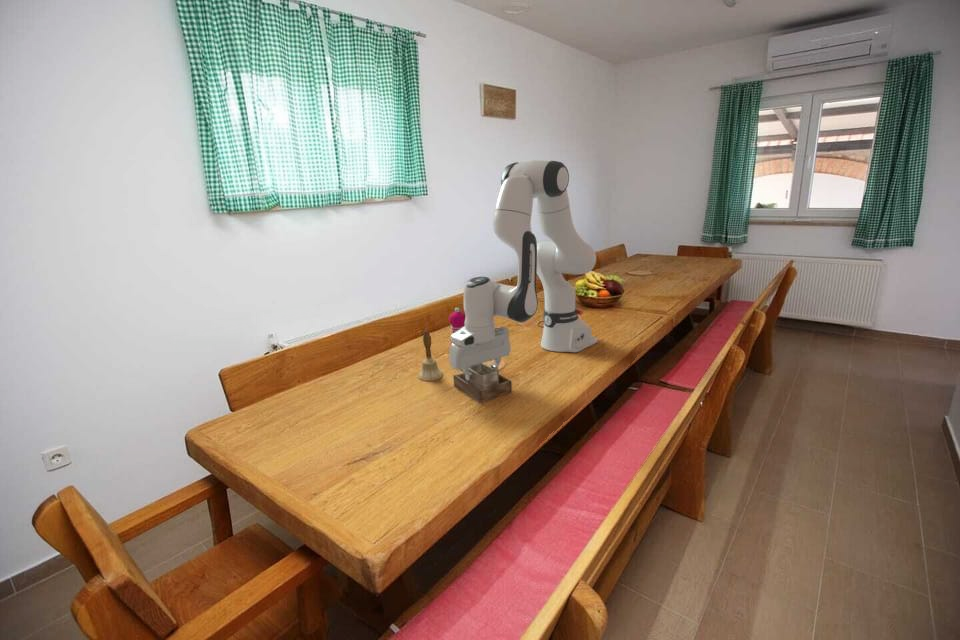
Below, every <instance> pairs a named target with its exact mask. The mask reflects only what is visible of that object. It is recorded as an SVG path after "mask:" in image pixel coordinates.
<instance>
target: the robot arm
mask: <svg viewBox="0 0 960 640" xmlns="http://www.w3.org/2000/svg"><path fill="white" fill-rule="evenodd" d="M500 178H501V179H500V185H501V186H500V189H499V192H498V195H497V200H496V202H495V209H494V215H493V221H492V228H493V231H494V234H495V235H496V237H497V238H498V239H499V240H500V242H502V243H504V244H505V245H507V247H510V248H511V249H513V250H514V252H515V253H516V256H517V282H516V283H517V284H516V286H515V285H509V284H503V283H499V282H495V281H492V280H491V279H490V278H489V277H487V276H477V277H472V278H470V279H468V280H467V281H466V282H465V285H464V289H463V311H464V312H463V313H464V314H465V315H466V319H465V324H464V325H465V326H464V327H462V328H461V329H460V330H458V331H456V332H455V333H453V332H452V334H451V335H450V336H449V337H450V338H449V340H450V341H451V342H453V343H452V344H451V343H450V345H451V346H450V345H449V348H450V351H449V353H448V354H449V355H448V356H449V360H448V361H449V365H450V367H451V368H453V370H456V371H462V373H463V372H464V373H465V378H466V380H471V379H472V374H471V373H469V372H468V371H467V370H469V367H471V366H474V365H477V364H481V363H484V364H485V363H487V362H490V361H493V363H492V365H490V367H491V368H493V369H495V370H497V371H498V372H499V366H500V363H501V361H502V358H504V357H506V356H509V355H510V353H511V341H510V337H509V335H510V331H509V329H508V327H505V326H500V327H496V325H495V324H496V323H495V317H496V316H498V317H502V318H506V319H510V320H513V321H515V322H517V323H526V322H527V321H529V320H530V319H531V318H532V317H533V316H535V314H536V313H537V310H538V303H539V301H538V300H539V299H538V293H537V292H538V291H537V276H538V278H539V280H540V282H541V285H542V287H543V288H542V289H543V293H544V309H543V330H542V336H541V342H540V347H541V348H542V349H543V350H544V349H545V350H547V351H550V352H557V353H560V352H561V353H563V352H565V353H566V352H567V353H569V352H570V353H578V352H580V351H583V350H584V349H586V348H589V347H591V346H593V345H595V344H597V343H598V342H599V341H598V338H597V337H595V336H593V335H592V329H591V326H590V325H589V324H587V323H586V322H584V321H583V320H582V319H581V318H579V315H580V316H582V315H583V314H584V309H581V308H577V309H576V290H575V287H574V285H572V284H571V283H569V282H568V281H567V280H566V279H565V278H564V276H563V274H566V275H582V274H583V275H585V274H588V273H590V272H591V271H592V270H593V269H594V267H595V265H596V264H597V263H596V262H597V254H596V252H595V249H594V248H593V246H591V245H590V244H588V243H587V242H586V241H585V240H583V238H582V237H581V236H580V235H579V233H578V232H577V230H576V228H575V226H574V224H573V219H572V213H571V206H570V200H569V199H570V198H569V194H568V190H567V188H568V186H569V181H570V173H569V170H568V167H567V166H566V165H565V164H564V163H563V162H561V161H557V160H549V161H548V160H531V161H523V162H514V163H510V164H507V165H506V167H504V169H503V171H502V173H501V176H500ZM534 200H535V207H536V214H537V220H538V225H539V227H538V228H539V230H540V232H541V233H542V234H543V236H545V237H547V238H548V239H550V240H551V241H539V242H537V237H536V236H535V234H534V233H533V231H532V227H531V225H532V224H531V220H532V212H533V204H534V202H533V201H534Z"/></svg>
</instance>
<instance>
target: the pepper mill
mask: <svg viewBox="0 0 960 640" xmlns="http://www.w3.org/2000/svg"><path fill="white" fill-rule="evenodd" d="M460 310H461V309H460V308H459V307H455V308H454V312H452V313H451V314H450V315H449V317H448V321H449V323H450V325H451V326H450V330H451V331H452V334H453V333H455V332H456V331H458V330H460V329H461V328H462V327H464V326H465V319H466V315H465V312H462V311H460ZM452 343H453V342H452V341H451V342H450V345H449V351H450V346H451V344H452Z"/></svg>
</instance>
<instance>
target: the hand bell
mask: <svg viewBox="0 0 960 640" xmlns="http://www.w3.org/2000/svg"><path fill="white" fill-rule="evenodd" d="M422 340H423V346H424V348H425V357H426V358H425V359H424V360H423V361H422V367H421V370H420V371H419V373H418V375H417V378H418V379H419V380H421V381H425V382H434V381H436V380H439V379H441V378H442V377H443V375H444V374H443V371H442V370H440V369H439V367H438V364H437V360H436V359H435V358H432V357H433V356H432V351H431V347H432V337H431V334H430V331H429V330H428V329H425V330H424V332H423V337H422Z"/></svg>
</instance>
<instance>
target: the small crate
mask: <svg viewBox="0 0 960 640" xmlns="http://www.w3.org/2000/svg"><path fill="white" fill-rule="evenodd" d="M467 371H468V372H469V373H471V374H472V379H471V380H466V382H468V383H470V384H471V385H473V386H474V387H476V388H478V389H479V390H481V389H484V388H488V387H491V386H494V385H497V384H499V375H500V374H499V370H498V371H497V370H495V369H493V368H491V365H487V364H486V363H485V362H484V363H481V364H477V365H474V366H471V367H469V370H467ZM498 374H499V375H498Z"/></svg>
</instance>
